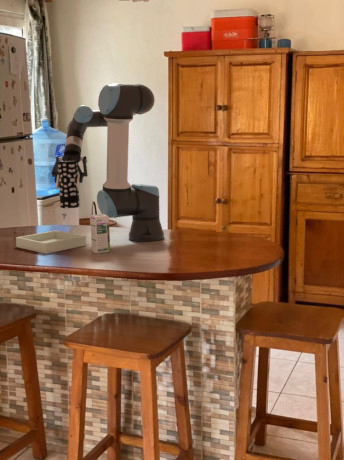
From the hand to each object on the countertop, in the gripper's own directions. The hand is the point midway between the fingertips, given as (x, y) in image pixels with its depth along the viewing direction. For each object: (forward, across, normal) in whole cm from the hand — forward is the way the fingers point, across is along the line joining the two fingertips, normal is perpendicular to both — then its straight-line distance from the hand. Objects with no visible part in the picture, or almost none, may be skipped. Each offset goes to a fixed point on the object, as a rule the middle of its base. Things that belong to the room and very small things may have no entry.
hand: (67, 188), depth 278 cm
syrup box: (+36, -18, +5) cm, 41 cm away
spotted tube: (+4, 0, -9) cm, 10 cm away
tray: (+28, +4, -2) cm, 29 cm away
